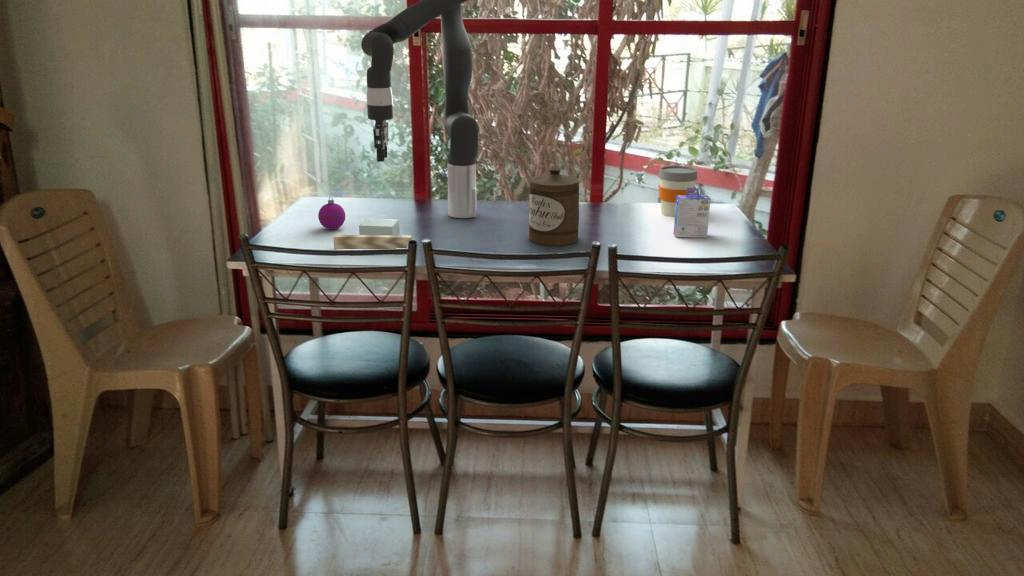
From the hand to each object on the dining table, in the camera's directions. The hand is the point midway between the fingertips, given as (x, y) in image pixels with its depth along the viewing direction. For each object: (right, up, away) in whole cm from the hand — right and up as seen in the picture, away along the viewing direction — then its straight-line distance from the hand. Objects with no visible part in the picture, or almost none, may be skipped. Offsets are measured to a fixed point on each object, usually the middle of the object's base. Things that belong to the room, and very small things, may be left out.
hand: (382, 159), depth 253 cm
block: (0, -24, -3) cm, 24 cm away
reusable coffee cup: (+94, -14, +27) cm, 99 cm away
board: (0, -28, -14) cm, 31 cm away
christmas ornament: (-16, -21, +6) cm, 27 cm away
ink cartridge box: (+94, -23, +2) cm, 97 cm away
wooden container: (+52, -24, -2) cm, 57 cm away
